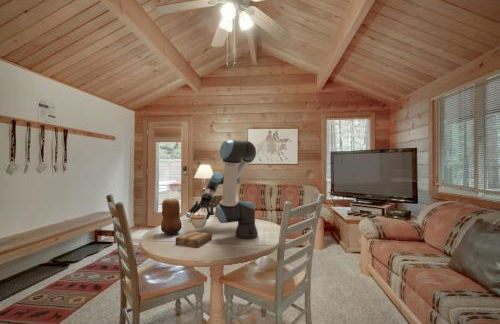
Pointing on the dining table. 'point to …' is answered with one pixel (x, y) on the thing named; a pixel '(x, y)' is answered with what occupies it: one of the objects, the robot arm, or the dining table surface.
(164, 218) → the butternut squash
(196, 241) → the plinth
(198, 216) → the lidded jar
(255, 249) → the dining table surface
